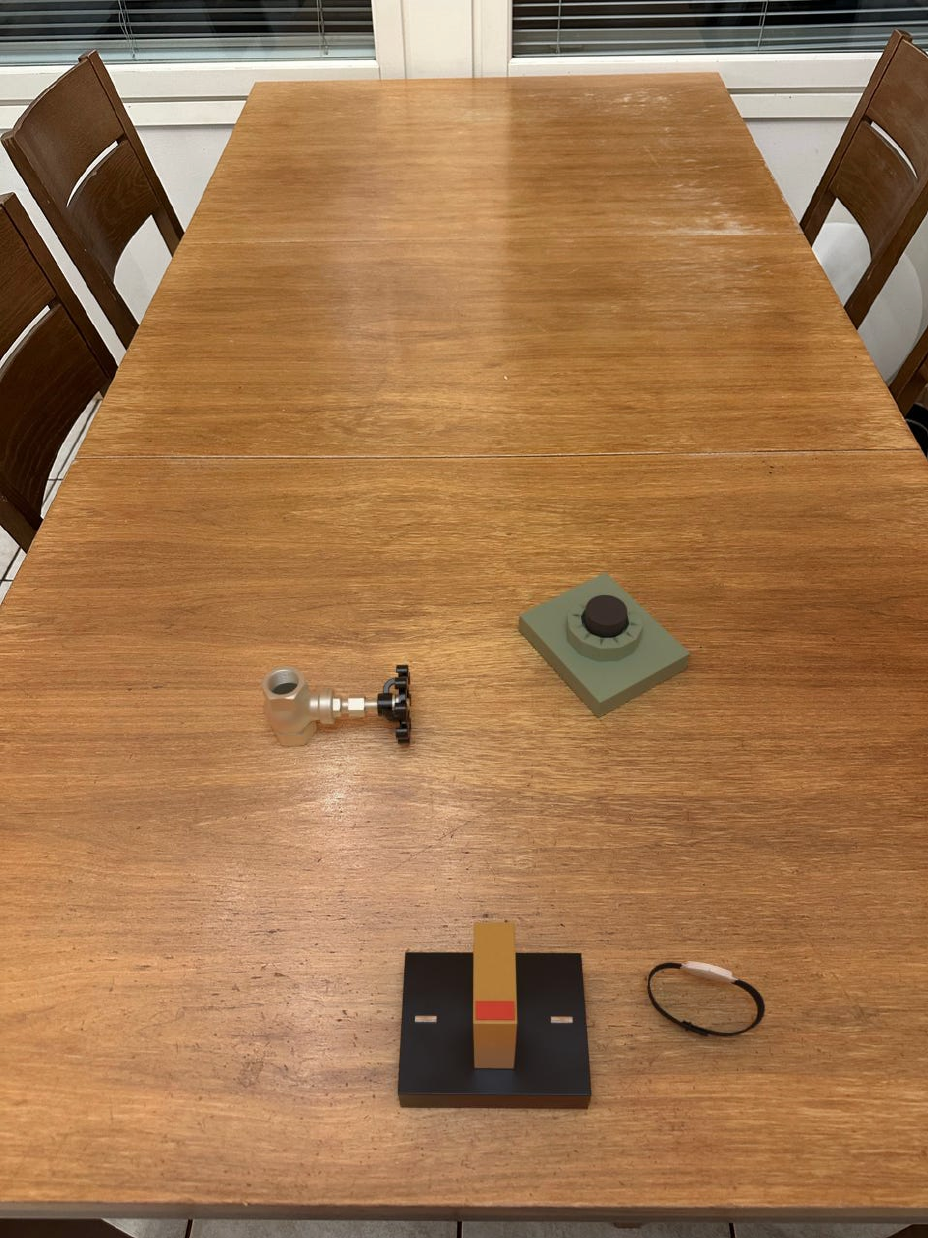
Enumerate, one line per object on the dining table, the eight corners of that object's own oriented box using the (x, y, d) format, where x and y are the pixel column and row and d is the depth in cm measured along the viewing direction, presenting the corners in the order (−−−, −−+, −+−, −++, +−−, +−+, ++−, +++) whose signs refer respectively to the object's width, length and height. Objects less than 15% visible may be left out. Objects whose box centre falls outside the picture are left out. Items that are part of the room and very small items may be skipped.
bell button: (633, 627, 83) (635, 613, 82) (601, 644, 82) (602, 630, 80) (607, 602, 85) (610, 588, 84) (575, 618, 84) (577, 605, 82)
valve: (266, 763, 78) (410, 760, 78) (251, 715, 73) (405, 712, 73) (275, 699, 83) (412, 696, 83) (262, 651, 78) (407, 648, 78)
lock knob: (474, 973, 63) (473, 920, 57) (511, 973, 63) (514, 920, 57) (474, 1068, 59) (473, 1022, 53) (514, 1069, 59) (517, 1022, 53)
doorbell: (686, 668, 84) (694, 639, 81) (597, 718, 81) (602, 689, 78) (603, 587, 91) (607, 558, 88) (518, 630, 88) (519, 600, 85)
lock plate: (578, 970, 66) (581, 951, 64) (588, 1109, 60) (592, 1094, 58) (407, 969, 67) (404, 950, 64) (400, 1108, 61) (397, 1093, 58)
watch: (760, 988, 65) (772, 967, 63) (755, 1057, 62) (767, 1038, 60) (649, 958, 67) (656, 936, 64) (638, 1024, 64) (645, 1004, 61)
